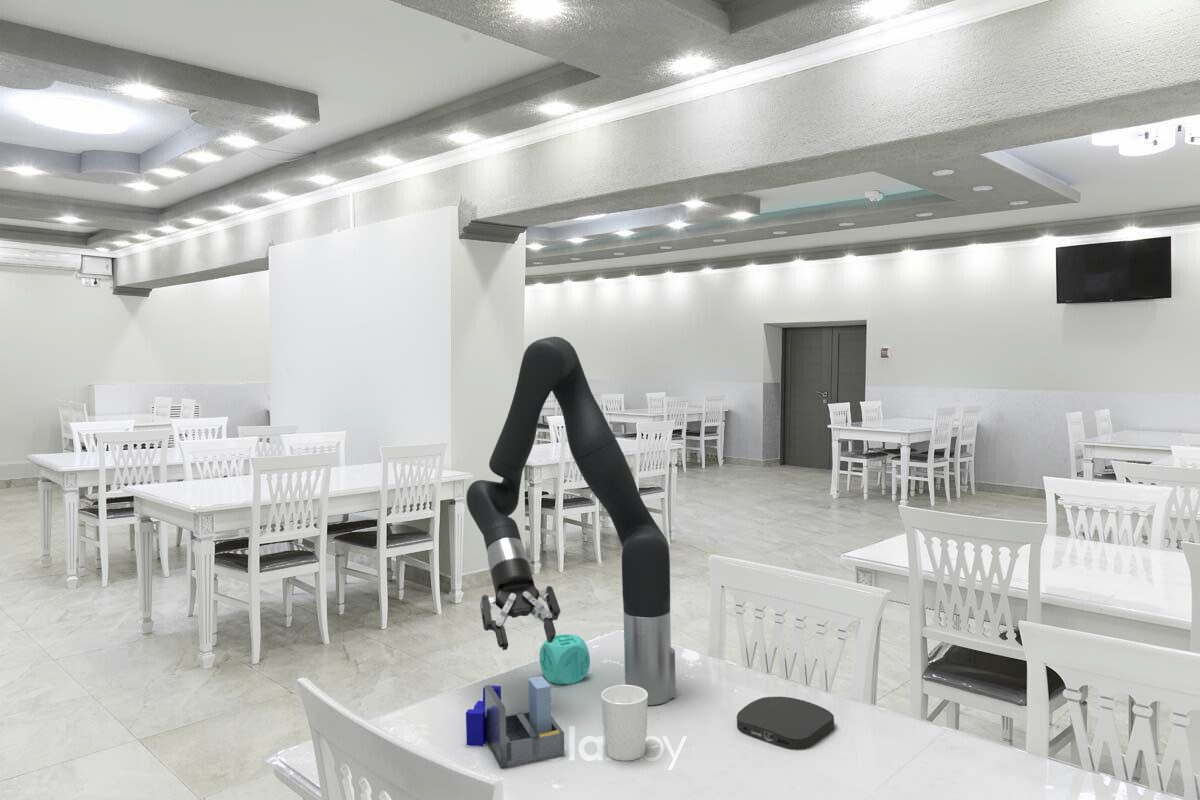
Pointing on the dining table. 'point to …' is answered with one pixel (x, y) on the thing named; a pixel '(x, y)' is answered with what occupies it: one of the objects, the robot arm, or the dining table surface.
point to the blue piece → (478, 721)
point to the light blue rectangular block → (539, 705)
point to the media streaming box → (785, 722)
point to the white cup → (624, 721)
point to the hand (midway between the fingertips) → (528, 644)
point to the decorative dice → (564, 659)
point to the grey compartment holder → (518, 735)
